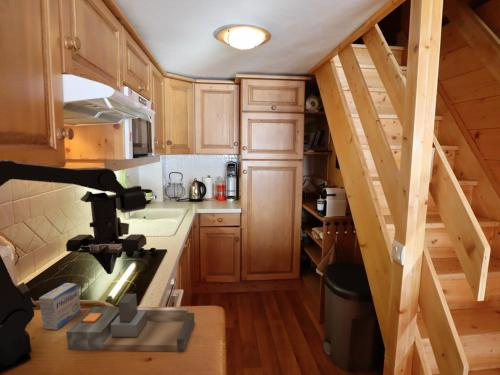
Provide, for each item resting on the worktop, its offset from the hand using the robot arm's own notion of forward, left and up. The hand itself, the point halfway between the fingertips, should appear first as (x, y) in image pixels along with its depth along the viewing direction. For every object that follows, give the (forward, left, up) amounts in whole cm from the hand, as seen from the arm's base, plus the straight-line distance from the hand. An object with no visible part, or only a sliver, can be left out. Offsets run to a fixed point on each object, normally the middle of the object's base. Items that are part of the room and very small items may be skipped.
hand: (110, 273), depth 75 cm
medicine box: (-10, +8, -12) cm, 18 cm away
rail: (0, -13, -12) cm, 17 cm away
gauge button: (-7, -5, -11) cm, 13 cm away
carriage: (-1, -12, -10) cm, 16 cm away
